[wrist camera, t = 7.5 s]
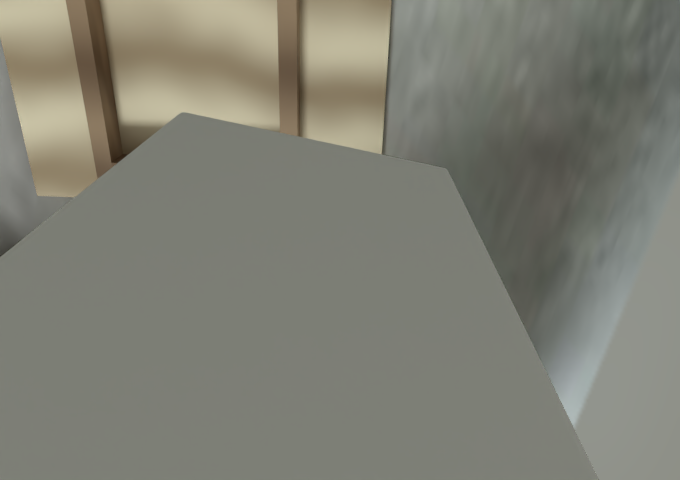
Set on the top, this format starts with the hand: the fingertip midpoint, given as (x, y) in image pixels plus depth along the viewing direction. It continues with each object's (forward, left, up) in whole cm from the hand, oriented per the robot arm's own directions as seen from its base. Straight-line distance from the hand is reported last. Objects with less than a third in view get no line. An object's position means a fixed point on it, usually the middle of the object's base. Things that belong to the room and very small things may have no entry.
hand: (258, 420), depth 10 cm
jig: (+2, +7, -26) cm, 27 cm away
